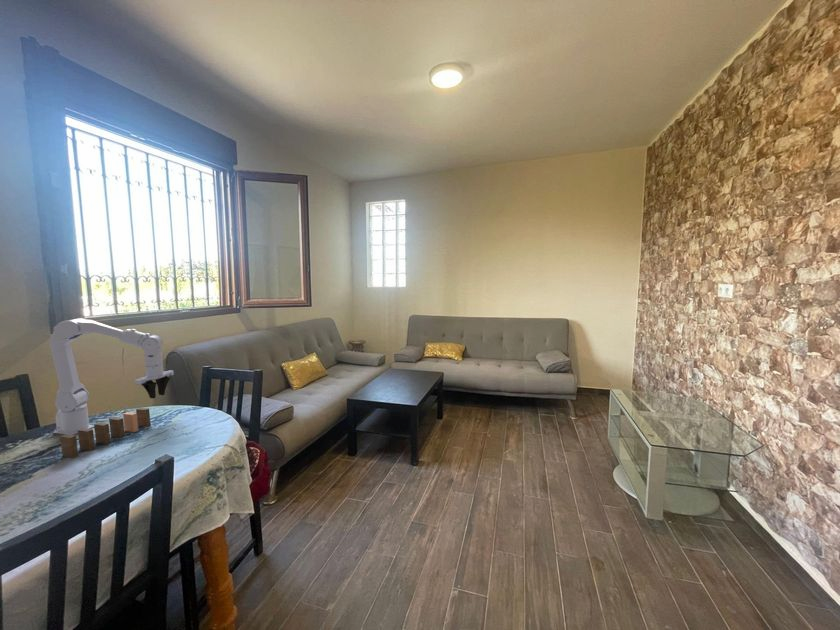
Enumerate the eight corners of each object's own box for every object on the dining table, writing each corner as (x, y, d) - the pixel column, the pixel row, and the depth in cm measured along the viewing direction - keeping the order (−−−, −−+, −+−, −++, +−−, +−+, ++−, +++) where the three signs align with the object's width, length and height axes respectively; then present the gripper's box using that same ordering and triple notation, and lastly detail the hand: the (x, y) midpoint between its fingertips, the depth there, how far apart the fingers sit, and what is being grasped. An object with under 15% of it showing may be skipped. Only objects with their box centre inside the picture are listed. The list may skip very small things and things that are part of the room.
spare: (134, 432, 130) (132, 414, 129) (124, 430, 131) (123, 413, 130) (138, 430, 131) (136, 413, 130) (129, 429, 132) (127, 412, 131)
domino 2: (89, 450, 116) (87, 431, 115) (80, 449, 117) (77, 430, 116) (95, 448, 117) (92, 429, 116) (85, 447, 118) (83, 428, 118)
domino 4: (120, 437, 125) (118, 420, 124) (111, 436, 126) (109, 418, 125) (124, 436, 127) (123, 418, 126) (115, 434, 128) (113, 417, 127)
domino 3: (105, 444, 120) (103, 425, 120) (96, 442, 121) (93, 424, 121) (110, 442, 122) (108, 423, 121) (101, 440, 123) (99, 422, 122)
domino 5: (146, 426, 134) (144, 410, 134) (137, 425, 135) (136, 409, 135) (150, 425, 136) (149, 408, 135) (141, 424, 137) (140, 407, 136)
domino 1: (72, 458, 111) (70, 438, 110) (62, 456, 112) (60, 436, 111) (78, 455, 113) (76, 435, 112) (68, 453, 114) (66, 434, 113)
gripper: (143, 370, 131) (147, 403, 133) (178, 361, 145) (180, 391, 147) (129, 368, 133) (133, 401, 134) (165, 360, 147) (168, 390, 148)
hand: (157, 396), depth 140 cm, fingers open, 3 cm apart
